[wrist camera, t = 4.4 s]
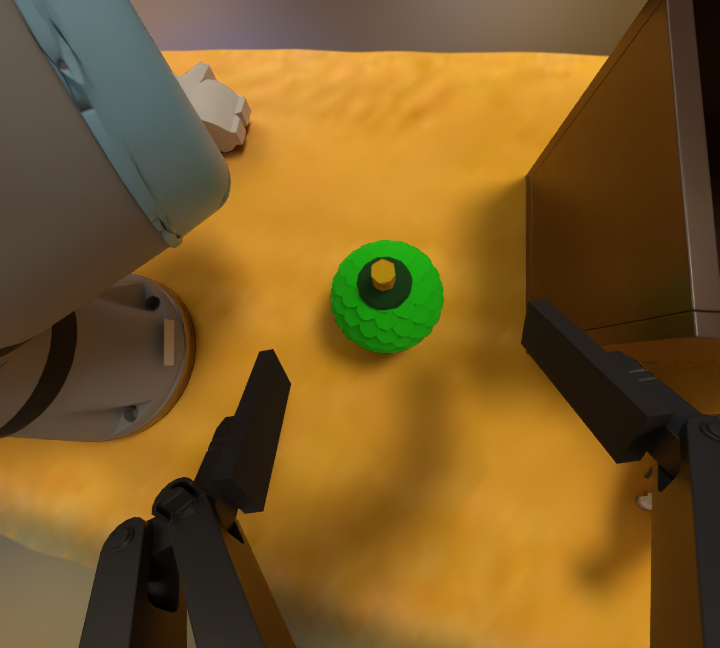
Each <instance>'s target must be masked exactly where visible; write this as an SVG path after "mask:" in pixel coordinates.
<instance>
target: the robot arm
mask: <svg viewBox="0 0 720 648" xmlns="http://www.w3.org/2000/svg"><path fill="white" fill-rule="evenodd" d="M230 185H231V179H230V172H229V168H228V165H227V163H226V161H225V159H224V157H223V155H222V154H221V152H220V150H219V149H218V147H217V145H216V144H215V142H214V140H213V139H212V137H211V135H210V134H209V132H208V130H207V129H206V127H205V125H204V124H203V122H202V120H201V119H200V117H199V115H198V114H197V112H196V110H195V109H194V107H193V105H192V104H191V102H190V100H189V99H188V97H187V95H186V94H185V92H184V90H183V89H182V87H181V85H180V84H179V82H178V80H177V79H176V77H175V75H174V74H173V72H172V70H171V69H170V67H169V65H168V64H167V62H166V60H165V59H164V57H163V55H162V54H161V52H160V50H159V49H158V47H157V46H156V44H155V42H154V41H153V39H152V37H151V36H150V34H149V32H148V31H147V29H146V27H145V26H144V24H143V22H142V21H141V19H140V18H139V16H138V14H137V12H136V11H135V9H134V7H133V6H132V4H131V2H130V1H129V0H0V438H5V437H18V438H34V439H49V440H64V441H80V442H98V441H108V440H112V439H116V438H120V437H124V436H128V435H132V434H135V433H137V432H140V431H142V430H144V429H146V428H148V427H150V426H151V425H153V424H155V423H156V422H157V421H159V420H160V419H161V418H162V417H163V416H164V415H165V414H167V413H168V412H169V410H170V409H171V408H172V407H173V406H174V405H175V403H176V402H177V401H178V399H179V398H180V396H181V394H182V393H183V391H184V389H185V387H186V385H187V383H188V380H189V378H190V375H191V371H192V368H193V363H194V357H195V334H194V328H193V324H192V321H191V318H190V315H189V313H188V311H187V309H186V307H185V306H184V304H183V303H182V301H181V300H180V299H179V297H178V296H177V295H176V294H175V293H174V292H172V291H171V290H170V289H169V288H167V287H166V286H164V285H163V284H160V283H158V282H156V281H153V280H151V279H148V278H145V277H142V276H139V275H136V274H132V273H131V272H133V271H134V270H136V269H137V268H139V267H140V266H142V265H143V264H145V263H146V262H148V261H149V260H151V259H152V258H154V257H155V256H157V255H158V254H160V253H161V252H163V251H164V250H166V249H167V248H169V247H171V248H172V247H173V248H176V247H178V246H179V245H180V244H181V243H182V238H183V236H185V235H186V234H187V233H189V232H190V231H191V230H192V229H194V228H195V227H196V226H198V225H199V224H200V223H202V222H203V221H204V220H206V219H207V218H208V217H210V216H211V215H212V214H214V213H215V212H216V211H218V210H219V209H220V208H221V207H222V206H223V205H224V203H225V202H226V200H227V198H228V196H229V192H230ZM521 344H522V345H523V347H524V348H525V349H526V350H527V352H528V353H529V354H530V355H531V357H532V358H533V359H534V360H535V362H536V363H537V364H538V365H539V367H540V368H541V369H542V370H543V372H544V373H545V374H546V375H547V377H548V378H549V379H550V380H551V382H552V383H553V384H554V385H555V387H556V388H557V389H558V391H559V392H560V393H561V394H562V396H563V397H564V398H565V399H566V401H567V402H568V403H569V404H570V406H571V407H572V408H573V409H574V411H575V412H576V413H577V414H578V416H579V417H580V418H581V419H582V421H583V422H584V423H585V424H586V426H587V427H588V428H589V429H590V431H591V432H592V433H593V434H594V436H595V437H596V438H597V439H598V441H599V442H600V443H601V444H602V446H603V447H604V448H605V449H606V451H607V452H608V453H609V454H610V456H611V457H612V458H613V459H614V461H615V462H616V463H617V464H618V463H626V462H633V461H640V460H641V459H642V457H643V456H644V455H645V453H646V452H648V453H649V454H650V455H651V456H652V457H653V458H654V459H655V461H654V462H653V464H652V465H651V466H650V467H649V469H648V470H647V471H646V473H645V475H644V477H645V478H647V479H648V478H649V477H650V476H651V475H652V539H651V615H650V648H720V418H719V417H716V416H710V415H705V414H702V413H700V412H699V411H697V410H696V409H695V408H694V407H692V406H691V405H690V404H689V403H687V402H686V401H685V400H684V399H683V398H681V397H680V396H679V395H678V394H676V393H675V392H674V391H673V390H672V389H670V388H669V387H668V386H667V385H665V384H664V383H663V382H662V381H660V380H658V379H657V378H656V376H654V375H653V374H652V373H651V372H649V371H647V370H646V368H644V367H643V366H642V365H641V364H640V363H638V362H637V361H636V360H635V359H633V358H631V357H629V356H627V355H625V354H623V353H621V352H619V351H614V352H608V353H607V352H606V351H605V350H603V349H602V348H601V347H600V346H599V345H598V344H597V343H595V342H594V341H593V340H592V339H591V338H590V337H589V336H587V335H586V334H585V333H584V332H583V331H582V330H581V329H579V328H578V327H577V326H576V325H575V324H574V323H573V322H571V321H570V320H569V319H568V318H567V317H566V316H565V315H563V314H562V313H561V312H560V311H559V310H558V309H557V308H555V307H554V306H553V305H552V304H551V303H550V302H549V301H547V300H546V299H545V298H542V299H537V300H532V301H528V306H527V312H526V318H525V324H524V329H523V335H522V341H521ZM290 386H291V383H290V381H289V379H288V377H287V375H286V373H285V371H284V369H283V367H282V365H281V363H280V362H279V360H278V358H277V356H276V354H275V352H274V350H273V349H271V350H265V351H260V352H259V354H258V357H257V359H256V362H255V364H254V367H253V369H252V372H251V375H250V377H249V380H248V382H247V385H246V387H245V390H244V393H243V395H242V398H241V400H240V403H239V406H238V408H237V411H236V413H235V416H231V417H225V419H224V420H223V421H222V422H221V424H220V425H219V426H218V427H217V429H216V431H215V434H214V436H213V438H212V442H211V443H210V445H209V448H208V451H207V452H206V454H205V457H204V459H203V461H202V464H201V466H200V468H199V471H198V473H197V475H196V478H195V480H194V482H193V481H192V480H191V479H190V478H186V477H182V478H178V479H176V480H174V481H172V482H171V483H169V484H168V485H167V486H166V487H165V488H164V489H162V490H161V492H160V493H159V495H158V496H157V497H156V499H155V501H154V504H153V506H152V515H154V516H155V517H154V518H152V519H150V520H148V521H145V520H143V519H142V518H140V517H133V518H131V519H128V520H126V521H124V522H123V523H122V524H120V525H119V526H118V527H117V528H116V529H115V530H114V531H113V532H112V533H111V534H110V535H109V537H108V538H107V540H106V541H105V543H104V545H103V547H102V550H101V552H100V557H99V561H98V565H97V570H96V574H95V579H94V583H93V587H92V592H91V596H90V600H89V605H88V609H87V614H86V618H85V622H84V627H83V631H82V636H81V640H80V644H79V648H187V610H188V614H189V618H190V622H191V626H192V630H193V635H194V638H195V643H196V647H197V648H296V646H295V644H294V641H293V639H292V637H291V635H290V633H289V631H288V628H287V626H286V624H285V622H284V620H283V617H282V615H281V613H280V611H279V609H278V606H277V604H276V602H275V600H274V598H273V596H272V593H271V591H270V589H269V587H268V585H267V582H266V580H265V578H264V576H263V574H262V571H261V569H260V567H259V565H258V563H257V560H256V558H255V556H254V554H253V552H252V550H251V547H250V545H249V543H248V541H247V539H246V536H245V534H244V532H243V530H242V528H241V525H240V523H239V521H238V520H237V519H236V515H237V511H238V508H239V509H240V510H241V511H243V512H244V513H245V514H247V513H254V512H262V511H264V506H265V501H266V497H267V492H268V488H269V483H270V478H271V474H272V469H273V465H274V460H275V455H276V451H277V446H278V442H279V437H280V432H281V428H282V423H283V418H284V414H285V409H286V405H287V400H288V395H289V391H290Z"/></svg>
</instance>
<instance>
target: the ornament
mask: <svg viewBox="0 0 720 648" xmlns="http://www.w3.org/2000/svg"><path fill="white" fill-rule="evenodd" d="M332 285H333V286H332V289H331V295H330V297H331V309H332V313H333V314H334V316H335V321H336V323H337V325H338V326H339V328H341V329H342V331H343V333H344V334H345V336H346V337H347V338H348V339H350V340H352V341H353V342H354V343H356V344H358V345H359V346H360V347H361V348H365V349H368V350H370V351H374V352H377V353H394V352H400V351H403V350H407V349H408V348H410V347H412V346H414V345H417V344H418V343H419V342H420V341H422V340H423V339H424V337H426V336H428V335H429V334H430V333H431V332H432V328H433V326H434V325H435V324H436V323H437V322H438V320H439V318H440V313H441V309H442V307H443V286H442V282H441V280H440V275H439V273H438V271H437V269H436V268H435V267H434V266H433V265H432V262H431V260H430V259H429V257H428V256H427V255H425V254H424V253H422V252H421V251H420V250H418V249H417V248H415V247H414V246H410V245H408V244H407V243H404V242H401V241H390V240H380V241H376V242H372V243H368V244H366V245H363V246H361V247H360V248H359V249H357V250H355V251H353V252H352V253H351V254H350V255H349V256H348V257H347V258H345V260H344V261H343V262H342V263H341V264H340V266H339V269H338V272H337V273H336V275H335V276H334V278H333V283H332Z"/></svg>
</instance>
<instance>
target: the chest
mask: <svg viewBox="0 0 720 648" xmlns="http://www.w3.org/2000/svg"><path fill="white" fill-rule="evenodd" d="M542 298H545V299H546V300H547V301H549V302H550V303H551V304H552V305H553V306H554V307H555V308H557V309H558V310H559V311H560V312H561V313H562V314H563V315H565V316H566V317H567V318H568V319H569V320H570V321H571V322H573V323H574V324H575V325H576V326H577V327H578V328H579V329H581V330H582V331H583V332H584V333H585V334H586V335H587V336H589V337H590V338H591V339H592V340H593V341H594V342H595V343H597V344H598V345H599V346H600V347H601V348H602V349H603V350H605V351H606V352H607V353H608V352H614V351H619V352H621V353H623V354H625V355H627V356H629V357H631V358H633V359H635V360H636V361H637V362H640V363H653V364H666V365H679V366H692V367H705V368H718V369H720V0H648V2H647V3H646V5H645V6H644V7H643V9H642V10H641V12H640V13H639V14H638V16H637V17H636V19H635V20H634V22H633V23H632V25H631V26H630V27H629V29H628V30H627V32H626V33H625V35H624V36H623V37H622V39H621V40H620V42H619V43H618V45H617V46H616V48H615V49H614V51H613V52H612V53H611V55H610V56H609V58H608V59H607V60H606V62H605V63H604V65H603V66H602V68H601V69H600V70H599V72H598V73H597V75H596V76H595V78H594V79H593V80H592V82H591V83H590V85H589V86H588V88H587V89H586V90H585V92H584V93H583V95H582V96H581V98H580V99H579V101H578V102H577V103H576V105H575V106H574V108H573V109H572V111H571V112H570V113H569V115H568V116H567V118H566V119H565V121H564V122H563V123H562V125H561V126H560V128H559V129H558V131H557V132H556V133H555V135H554V136H553V138H552V139H551V141H550V142H549V144H548V145H547V146H546V148H545V149H544V151H543V152H542V154H541V155H540V156H539V158H538V159H537V161H536V162H535V164H534V165H533V166H532V168H531V169H530V171H529V172H528V174H527V175H526V312H527V306H528V301H532V300H537V299H542ZM526 354H529V353H528V352H527V350H526Z"/></svg>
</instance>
